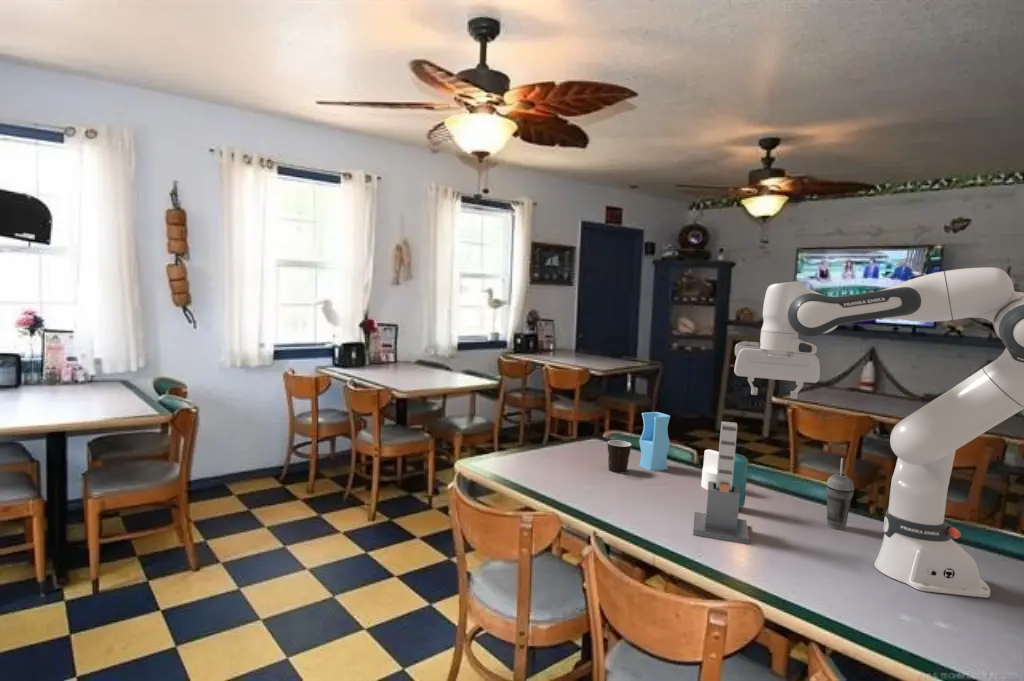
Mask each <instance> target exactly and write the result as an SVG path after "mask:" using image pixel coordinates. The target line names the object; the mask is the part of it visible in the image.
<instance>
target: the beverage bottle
mask: <svg viewBox="0 0 1024 681" xmlns="http://www.w3.org/2000/svg"><path fill="white" fill-rule="evenodd" d="M745 451H746V449H745V445H744V444H740V443H736V448H735V459H734V471H733V482H732V485H738V486H739V492H740V500H739V508H744V506H745V503H746V501H745V500H746V491H747V478H748V474H747V473H748V472H747V471H748V463H749V460H748V459H747V458H746V456H745V455H743V454H745Z"/></svg>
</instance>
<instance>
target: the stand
mask: <svg viewBox="0 0 1024 681" xmlns="http://www.w3.org/2000/svg"><path fill="white" fill-rule="evenodd" d="M739 500H740V492H739V486H738V485H732V492H730V491H729V485H728V484H721V483H720V487H719V490H717V489H716V482H710V481H708V490H707V496H706V508H705V513H704V512H699V511H698V512H697V511H694V516H693V518H694V520H693V531H692V533H693V534H692V535H693V536H699V537H703V538H710V539H716V540H722V541H726V542H727V541H728V542H733V543H738V544H746V545H749V544H750V535H749V530H748V525H747V523H748V522H747V519H741V518H739V508H740V507H739Z"/></svg>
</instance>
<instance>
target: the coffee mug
mask: <svg viewBox="0 0 1024 681" xmlns="http://www.w3.org/2000/svg"><path fill="white" fill-rule="evenodd" d="M606 445H607V463H608V465H607V466H608V470H609V471H610V472H612V473H614V474H615V473H617V474H624V473H627V471H628V465H629V460H630V456H631V450H632V443H631V442H629V441H625V440H618V439H617V440H615V439H613V440H608V441H607V444H606Z"/></svg>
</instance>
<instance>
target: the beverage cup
mask: <svg viewBox="0 0 1024 681" xmlns="http://www.w3.org/2000/svg"><path fill="white" fill-rule="evenodd" d="M843 465H844V457H841V458H840V470H839V473H834V474H832V475H831V476H829V478H828V479H827V480H826V484H825V487H826V488H825V490H826V496H827V497H826V500H827V501H826V522H827V527H828V528H831V529H834V530H838V531H843V530H846V525H847V522H848V518H849V511H850V506H851V502H852V498H853V496H854V492H855V488H854V487H855V486H854V485H855V484H854V481H853V480H852V479H851V477H849V476H848V475H846V474H844V473H843Z"/></svg>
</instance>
